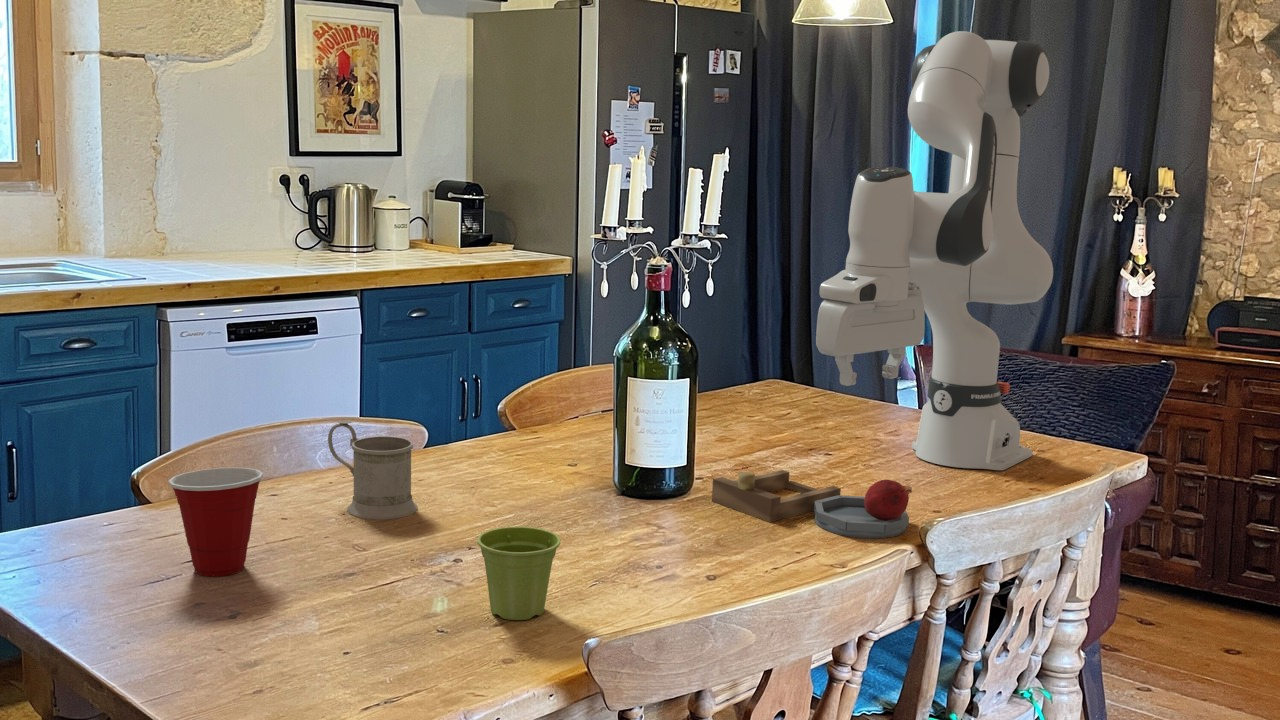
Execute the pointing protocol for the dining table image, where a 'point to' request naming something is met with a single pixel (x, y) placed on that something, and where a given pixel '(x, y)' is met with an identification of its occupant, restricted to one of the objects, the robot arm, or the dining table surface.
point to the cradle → (767, 495)
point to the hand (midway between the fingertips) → (869, 381)
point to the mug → (379, 475)
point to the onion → (887, 499)
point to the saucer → (855, 518)
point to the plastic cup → (217, 516)
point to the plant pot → (518, 569)
